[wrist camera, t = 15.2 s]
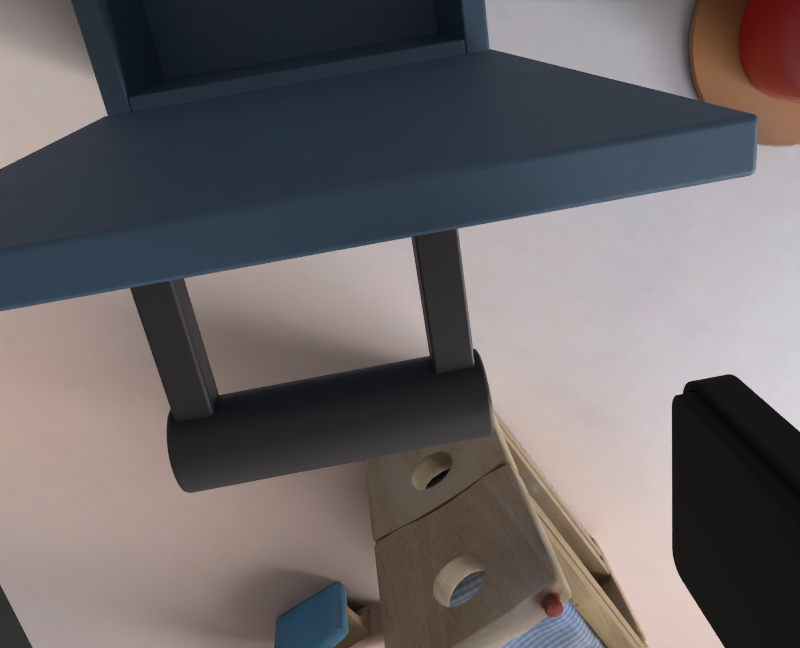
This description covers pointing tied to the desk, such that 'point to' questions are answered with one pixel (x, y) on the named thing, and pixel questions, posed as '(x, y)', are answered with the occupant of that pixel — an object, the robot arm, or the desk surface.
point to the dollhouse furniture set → (473, 560)
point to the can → (772, 47)
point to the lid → (337, 227)
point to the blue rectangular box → (261, 43)
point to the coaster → (735, 72)
